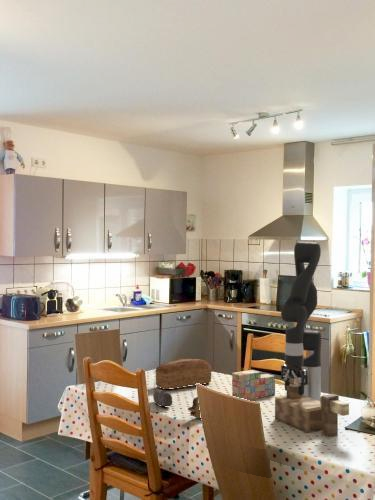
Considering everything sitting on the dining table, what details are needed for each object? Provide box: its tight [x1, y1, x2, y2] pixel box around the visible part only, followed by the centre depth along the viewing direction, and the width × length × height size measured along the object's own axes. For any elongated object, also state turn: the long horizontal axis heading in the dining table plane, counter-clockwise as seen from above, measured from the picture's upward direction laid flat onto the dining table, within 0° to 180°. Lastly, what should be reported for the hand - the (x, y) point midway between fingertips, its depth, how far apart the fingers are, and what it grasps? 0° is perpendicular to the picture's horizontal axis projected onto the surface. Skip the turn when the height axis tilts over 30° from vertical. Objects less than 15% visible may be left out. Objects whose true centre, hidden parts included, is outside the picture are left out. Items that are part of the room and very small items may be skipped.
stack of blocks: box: [231, 369, 276, 400], centre depth 268 cm, size 21×6×12 cm, turn 120°
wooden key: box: [320, 397, 350, 417], centre depth 210 cm, size 12×3×4 cm, turn 29°
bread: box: [155, 358, 212, 390], centre depth 289 cm, size 12×31×14 cm, turn 122°
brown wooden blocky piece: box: [274, 393, 340, 438], centre depth 222 cm, size 28×12×15 cm, turn 29°
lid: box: [274, 383, 321, 412], centre depth 226 cm, size 20×12×6 cm, turn 28°
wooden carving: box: [187, 396, 200, 419], centre depth 234 cm, size 16×5×10 cm, turn 141°
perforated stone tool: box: [152, 389, 173, 407], centre depth 253 cm, size 15×5×7 cm, turn 25°
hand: (294, 392), depth 230 cm, fingers open, 8 cm apart
